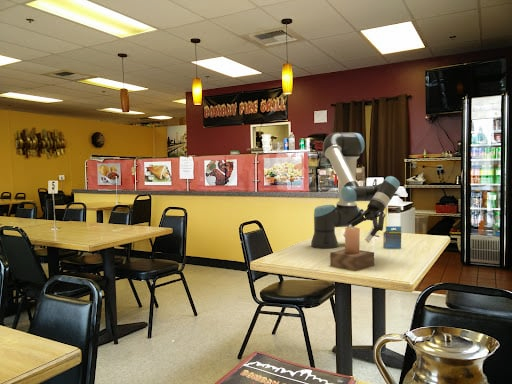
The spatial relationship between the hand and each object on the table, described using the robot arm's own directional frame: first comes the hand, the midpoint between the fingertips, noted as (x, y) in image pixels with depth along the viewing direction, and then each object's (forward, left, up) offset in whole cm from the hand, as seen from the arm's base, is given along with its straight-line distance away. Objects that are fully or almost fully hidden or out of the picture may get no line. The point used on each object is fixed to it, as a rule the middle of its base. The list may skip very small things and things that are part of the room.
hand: (355, 238), depth 189 cm
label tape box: (-10, +50, -12) cm, 53 cm away
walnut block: (-1, -2, -12) cm, 12 cm away
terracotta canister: (-1, -2, -6) cm, 6 cm away
